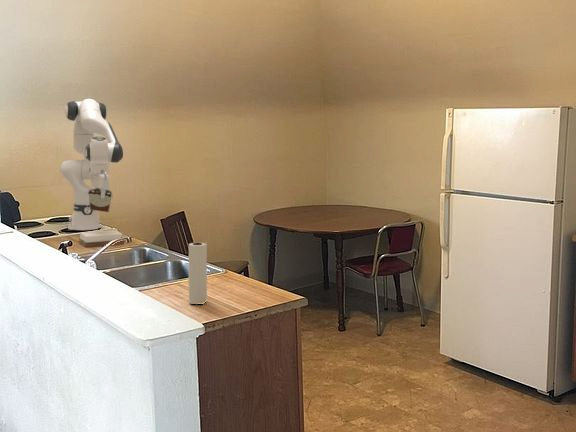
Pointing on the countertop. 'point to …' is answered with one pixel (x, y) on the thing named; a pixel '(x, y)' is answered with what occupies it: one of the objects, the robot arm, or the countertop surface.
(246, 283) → the countertop surface
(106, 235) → the tower top
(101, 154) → the robot arm
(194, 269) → the paper towel roll
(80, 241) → the tower bottom
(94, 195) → the food container
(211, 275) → the countertop surface
